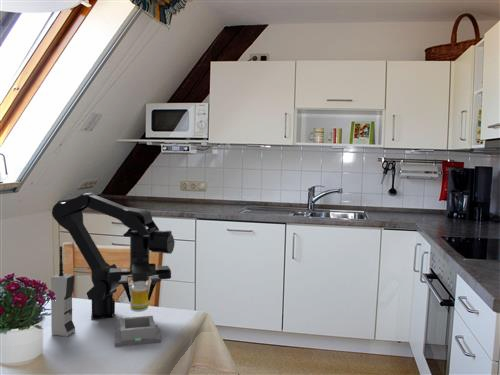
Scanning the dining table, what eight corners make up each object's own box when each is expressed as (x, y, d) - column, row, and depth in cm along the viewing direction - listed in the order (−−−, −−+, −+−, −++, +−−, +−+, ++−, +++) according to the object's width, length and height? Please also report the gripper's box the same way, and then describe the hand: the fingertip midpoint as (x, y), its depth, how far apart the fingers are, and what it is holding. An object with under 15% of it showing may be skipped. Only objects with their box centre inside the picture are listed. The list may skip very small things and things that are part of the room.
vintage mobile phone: (67, 337, 120) (66, 248, 118) (51, 335, 121) (50, 247, 119) (75, 331, 124) (74, 245, 122) (59, 329, 125) (59, 244, 123)
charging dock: (114, 346, 115) (114, 331, 114) (115, 331, 124) (115, 318, 124) (160, 342, 118) (160, 327, 118) (157, 327, 128) (157, 314, 127)
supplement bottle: (127, 308, 134) (127, 278, 133) (143, 304, 138) (143, 275, 137) (135, 313, 130) (134, 282, 129) (151, 309, 133) (151, 279, 133)
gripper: (106, 258, 122) (106, 312, 123) (173, 256, 127) (172, 307, 129) (107, 250, 133) (107, 299, 134) (169, 247, 138) (168, 295, 139)
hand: (139, 300), depth 134 cm, fingers closed on supplement bottle, 5 cm apart
